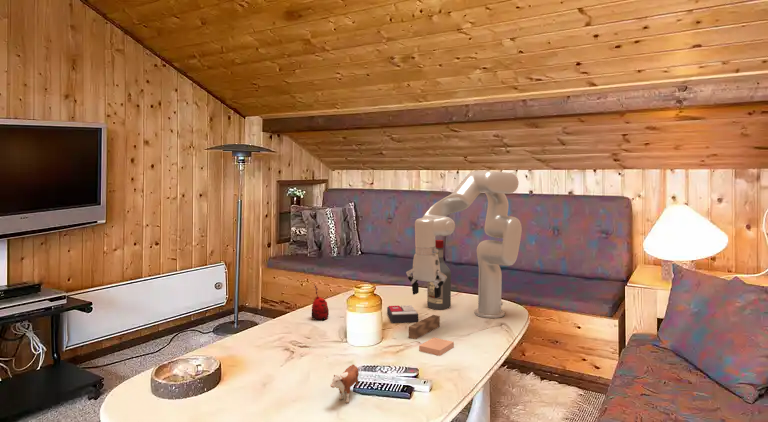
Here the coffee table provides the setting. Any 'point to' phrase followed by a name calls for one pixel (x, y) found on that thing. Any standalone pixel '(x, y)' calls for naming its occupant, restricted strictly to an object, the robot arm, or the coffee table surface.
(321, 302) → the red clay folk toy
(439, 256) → the liquor
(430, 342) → the tile
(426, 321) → the stick
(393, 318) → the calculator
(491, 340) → the coffee table surface
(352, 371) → the bull figurine
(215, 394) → the coffee table surface
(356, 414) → the coffee table surface
